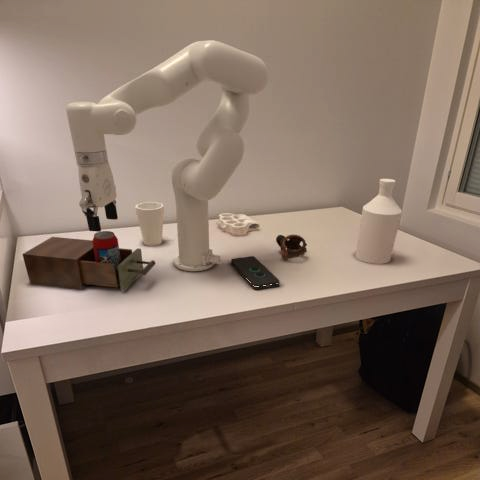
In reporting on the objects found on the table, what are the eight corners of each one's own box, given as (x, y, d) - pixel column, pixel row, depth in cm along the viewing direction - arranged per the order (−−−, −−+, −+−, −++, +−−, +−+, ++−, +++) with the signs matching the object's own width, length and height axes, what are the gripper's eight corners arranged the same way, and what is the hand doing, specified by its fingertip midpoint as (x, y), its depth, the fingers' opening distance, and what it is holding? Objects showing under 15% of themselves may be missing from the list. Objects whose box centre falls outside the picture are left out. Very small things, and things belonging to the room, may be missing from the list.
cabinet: (106, 269, 128) (101, 241, 123) (82, 289, 116) (76, 259, 111) (58, 264, 131) (52, 236, 126) (30, 283, 119) (22, 254, 114)
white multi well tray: (263, 232, 159) (227, 237, 154) (244, 219, 173) (210, 223, 168) (263, 224, 157) (227, 228, 152) (244, 211, 171) (210, 214, 166)
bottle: (362, 247, 147) (375, 174, 134) (396, 255, 142) (413, 179, 129) (349, 258, 139) (361, 180, 126) (384, 267, 133) (401, 187, 120)
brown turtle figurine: (311, 255, 142) (313, 239, 135) (295, 273, 139) (296, 258, 131) (282, 239, 146) (283, 222, 139) (266, 256, 143) (266, 241, 136)
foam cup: (133, 244, 146) (129, 207, 139) (148, 236, 154) (145, 200, 147) (157, 248, 143) (154, 211, 136) (171, 240, 151) (168, 204, 144)
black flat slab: (254, 285, 117) (229, 258, 133) (253, 290, 117) (229, 263, 133) (280, 280, 119) (254, 255, 135) (280, 286, 120) (253, 260, 136)
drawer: (160, 273, 124) (158, 250, 121) (143, 292, 113) (140, 268, 110) (97, 266, 127) (93, 244, 124) (74, 284, 117) (69, 260, 113)
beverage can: (108, 281, 116) (101, 240, 110) (93, 275, 120) (85, 234, 113) (127, 273, 121) (122, 233, 115) (112, 267, 124) (106, 228, 118)
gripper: (88, 165, 96) (101, 237, 105) (121, 152, 111) (130, 215, 120) (58, 164, 97) (74, 235, 106) (94, 151, 112) (106, 214, 121)
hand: (104, 224), depth 113 cm, fingers open, 9 cm apart
